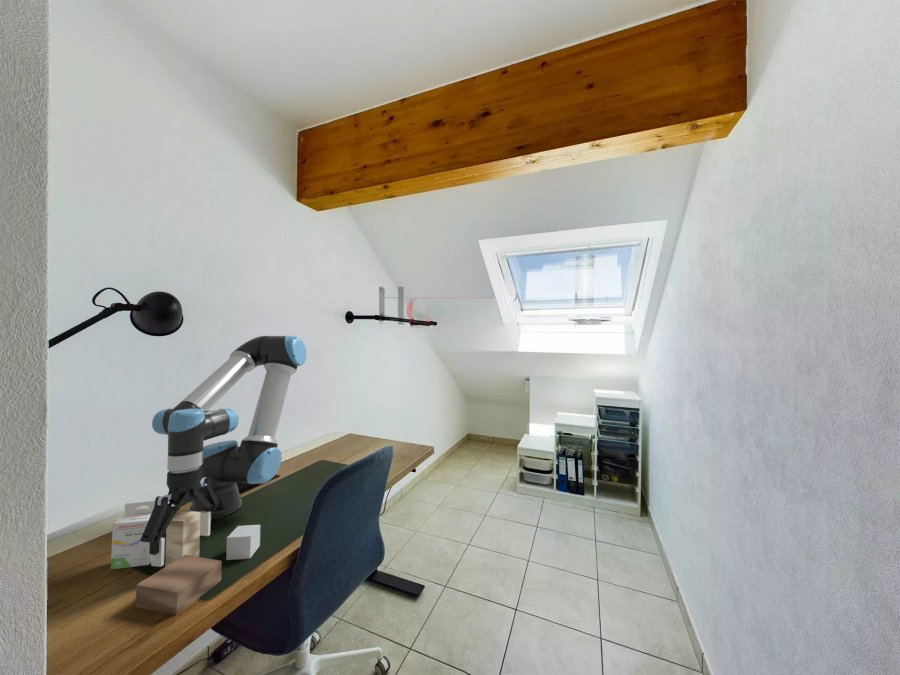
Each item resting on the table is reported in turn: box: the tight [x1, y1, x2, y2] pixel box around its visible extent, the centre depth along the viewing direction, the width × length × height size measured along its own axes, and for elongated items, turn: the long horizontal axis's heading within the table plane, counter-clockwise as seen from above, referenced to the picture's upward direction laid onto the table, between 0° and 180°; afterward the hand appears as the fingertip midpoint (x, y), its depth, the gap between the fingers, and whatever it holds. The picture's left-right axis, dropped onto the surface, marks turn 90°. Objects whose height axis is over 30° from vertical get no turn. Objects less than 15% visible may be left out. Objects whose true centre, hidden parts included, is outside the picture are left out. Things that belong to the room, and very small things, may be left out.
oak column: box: [164, 510, 201, 568], centre depth 90 cm, size 5×5×12 cm
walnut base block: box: [135, 555, 223, 616], centre depth 78 cm, size 11×11×5 cm
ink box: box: [110, 500, 158, 570], centre depth 90 cm, size 9×5×15 cm, turn 105°
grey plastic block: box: [225, 524, 261, 561], centre depth 94 cm, size 6×6×6 cm
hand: (182, 549), depth 90 cm, fingers open, 13 cm apart
